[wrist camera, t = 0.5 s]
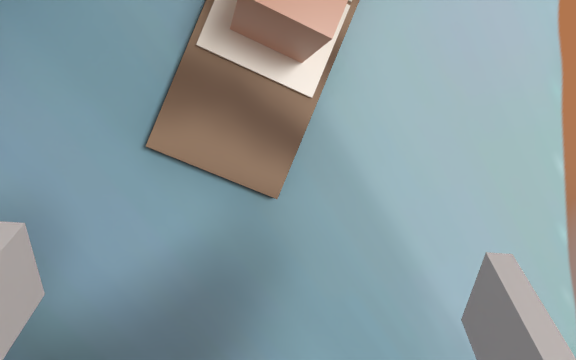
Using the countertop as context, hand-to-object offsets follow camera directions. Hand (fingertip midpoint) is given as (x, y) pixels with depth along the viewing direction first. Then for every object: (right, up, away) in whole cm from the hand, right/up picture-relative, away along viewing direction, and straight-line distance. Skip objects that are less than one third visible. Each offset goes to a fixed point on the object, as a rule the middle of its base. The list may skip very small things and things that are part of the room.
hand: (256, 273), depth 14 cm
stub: (0, +13, +16) cm, 20 cm away
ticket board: (0, +13, +17) cm, 22 cm away
